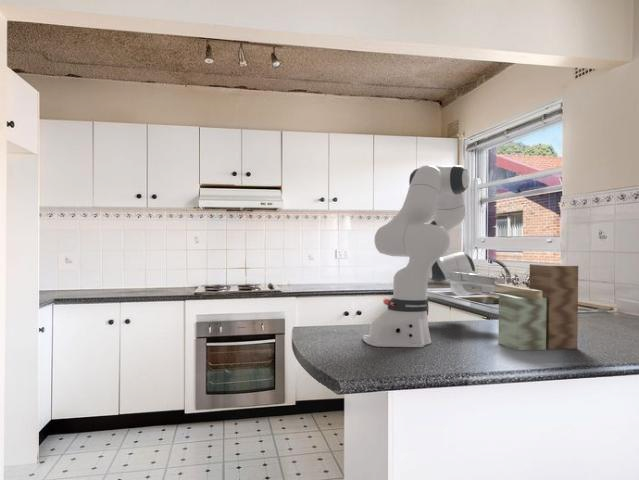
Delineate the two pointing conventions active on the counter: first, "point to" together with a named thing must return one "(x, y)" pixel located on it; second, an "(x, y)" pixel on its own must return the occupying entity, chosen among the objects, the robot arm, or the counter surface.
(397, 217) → the robot arm
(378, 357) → the counter surface
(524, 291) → the batten
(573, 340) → the stand
